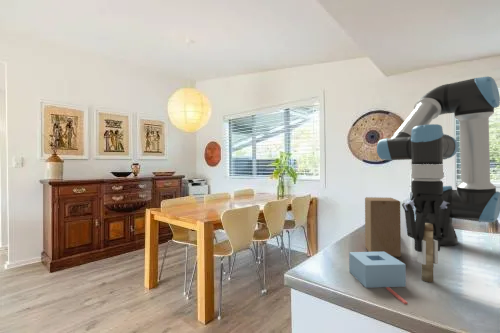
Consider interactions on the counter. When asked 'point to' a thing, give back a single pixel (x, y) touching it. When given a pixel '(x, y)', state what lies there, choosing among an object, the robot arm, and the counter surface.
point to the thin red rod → (396, 295)
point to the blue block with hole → (377, 269)
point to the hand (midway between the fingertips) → (427, 262)
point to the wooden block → (383, 225)
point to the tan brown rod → (428, 253)
